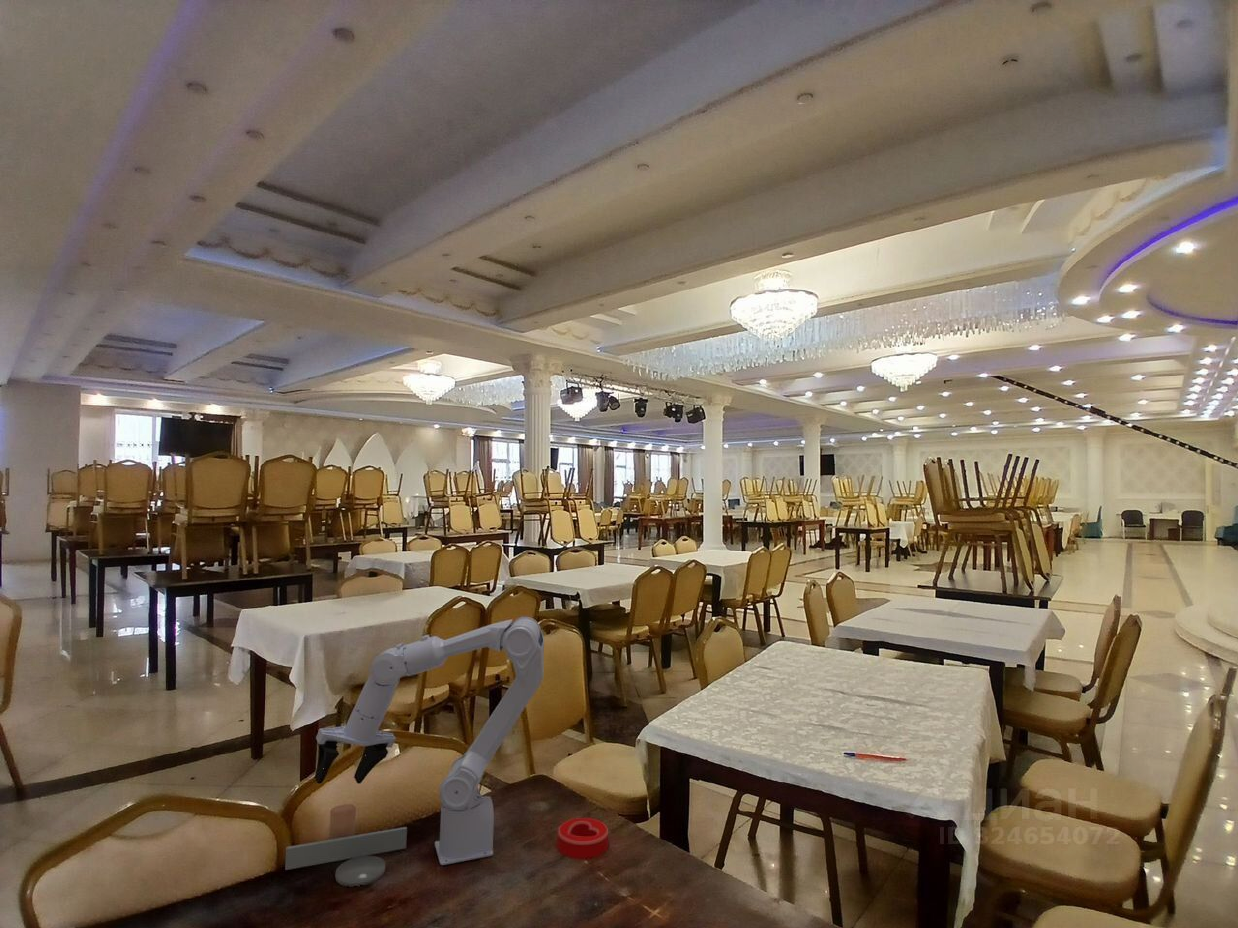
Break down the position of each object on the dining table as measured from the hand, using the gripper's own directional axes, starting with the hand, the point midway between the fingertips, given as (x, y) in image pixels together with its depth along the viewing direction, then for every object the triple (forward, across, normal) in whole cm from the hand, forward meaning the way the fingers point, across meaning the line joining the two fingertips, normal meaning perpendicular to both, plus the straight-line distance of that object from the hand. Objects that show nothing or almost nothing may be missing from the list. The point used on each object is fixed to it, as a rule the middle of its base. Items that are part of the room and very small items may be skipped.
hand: (338, 780), depth 118 cm
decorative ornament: (-5, -36, +30) cm, 47 cm away
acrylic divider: (+10, -4, +7) cm, 13 cm away
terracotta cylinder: (+12, -6, +1) cm, 13 cm away
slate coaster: (+9, -4, +13) cm, 16 cm away
